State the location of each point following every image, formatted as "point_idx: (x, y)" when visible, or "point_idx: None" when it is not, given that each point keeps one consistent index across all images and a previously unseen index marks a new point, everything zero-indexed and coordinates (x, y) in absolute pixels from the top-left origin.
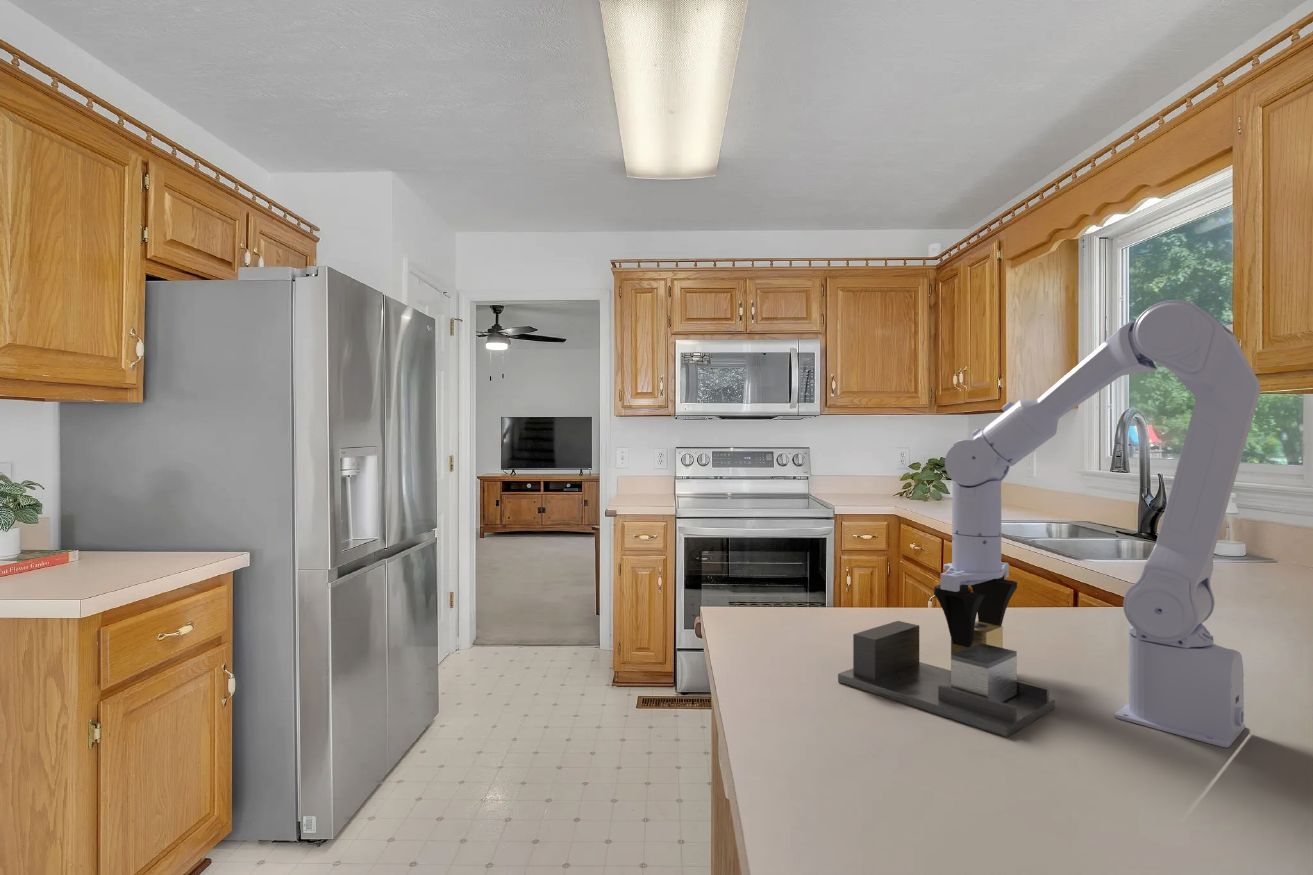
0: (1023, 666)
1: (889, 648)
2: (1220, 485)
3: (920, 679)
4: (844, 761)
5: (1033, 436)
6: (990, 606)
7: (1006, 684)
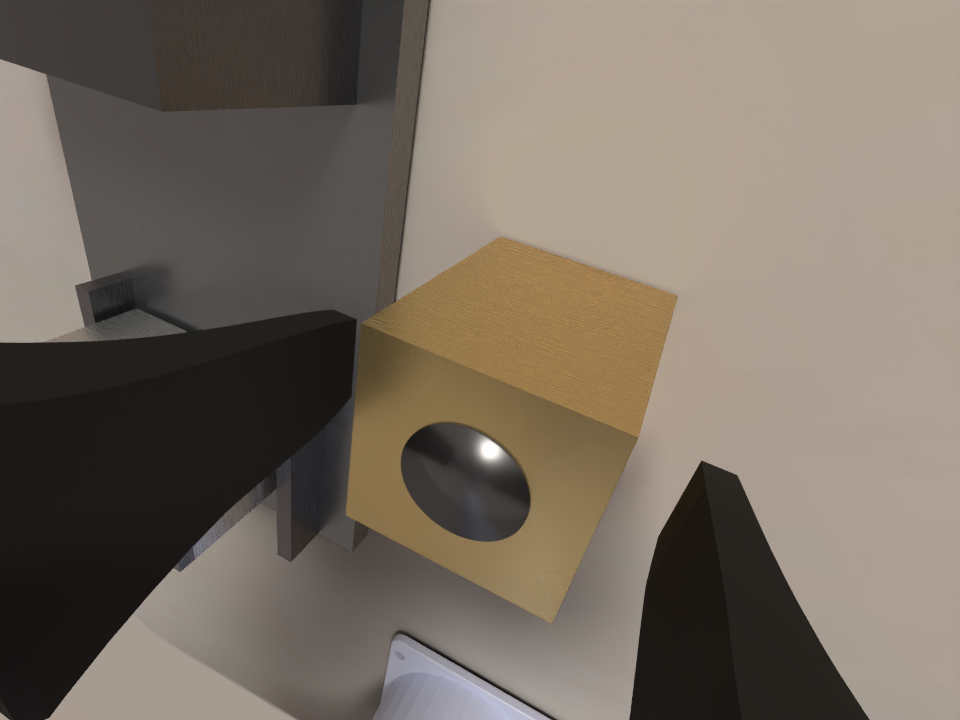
0: (818, 534)
1: None
2: None
3: (201, 175)
4: None
5: None
6: (660, 712)
7: None
